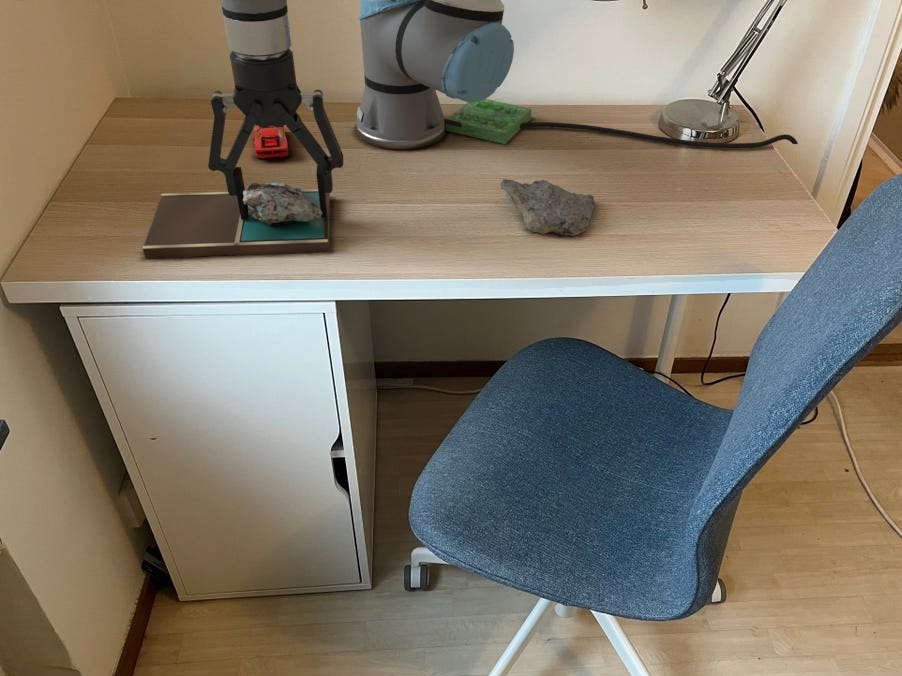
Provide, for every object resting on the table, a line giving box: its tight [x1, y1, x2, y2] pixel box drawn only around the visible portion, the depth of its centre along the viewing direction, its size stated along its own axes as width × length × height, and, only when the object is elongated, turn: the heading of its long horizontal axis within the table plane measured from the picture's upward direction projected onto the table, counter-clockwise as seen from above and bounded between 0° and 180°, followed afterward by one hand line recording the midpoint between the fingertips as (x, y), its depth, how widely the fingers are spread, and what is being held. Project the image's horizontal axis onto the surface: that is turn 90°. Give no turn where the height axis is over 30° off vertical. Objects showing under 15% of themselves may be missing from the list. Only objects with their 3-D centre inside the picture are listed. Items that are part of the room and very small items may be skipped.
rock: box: [499, 178, 596, 237], centre depth 115 cm, size 14×4×15 cm
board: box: [142, 188, 331, 259], centre depth 109 cm, size 24×15×2 cm, turn 97°
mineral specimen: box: [243, 182, 322, 225], centre depth 107 cm, size 10×12×6 cm
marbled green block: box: [445, 98, 532, 145], centre depth 138 cm, size 11×12×2 cm
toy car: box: [253, 125, 290, 160], centre depth 128 cm, size 12×5×3 cm, turn 14°
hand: (284, 213), depth 109 cm, fingers closed on mineral specimen, 10 cm apart
